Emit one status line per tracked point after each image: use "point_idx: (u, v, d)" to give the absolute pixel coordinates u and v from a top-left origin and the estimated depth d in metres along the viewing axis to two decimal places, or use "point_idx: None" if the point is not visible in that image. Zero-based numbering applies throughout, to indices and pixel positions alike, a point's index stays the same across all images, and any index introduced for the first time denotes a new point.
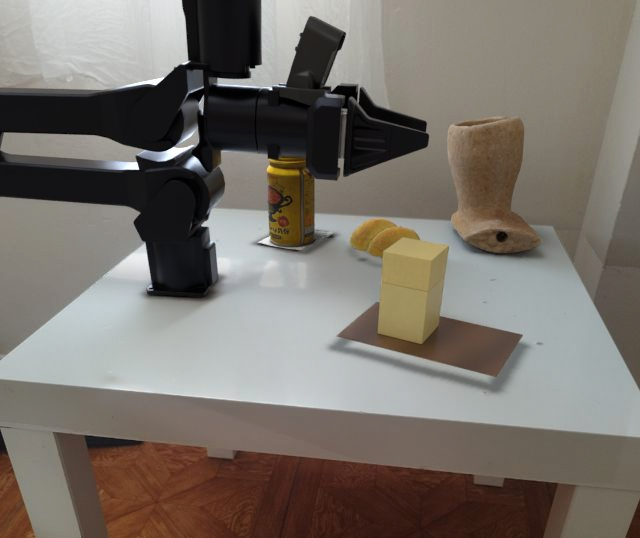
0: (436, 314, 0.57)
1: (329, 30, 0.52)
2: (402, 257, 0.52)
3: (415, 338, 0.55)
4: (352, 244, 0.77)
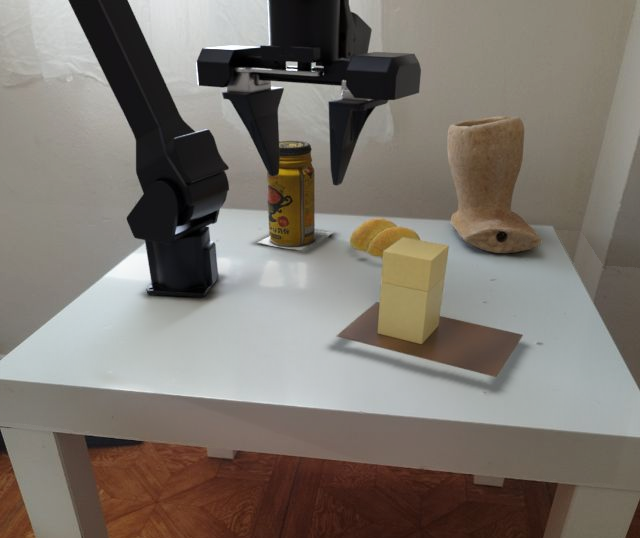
0: (436, 314, 0.57)
1: None
2: (402, 257, 0.52)
3: (415, 338, 0.55)
4: (352, 244, 0.77)
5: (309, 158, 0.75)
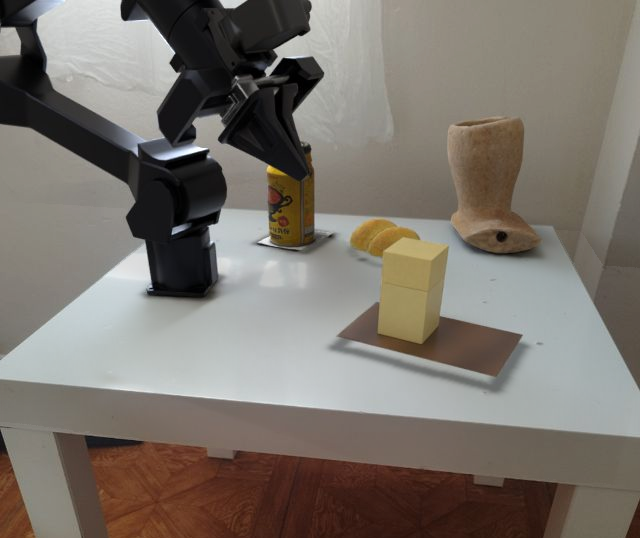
0: (436, 314, 0.57)
1: (278, 16, 0.47)
2: (402, 257, 0.52)
3: (415, 338, 0.55)
4: (352, 244, 0.77)
5: (309, 158, 0.75)
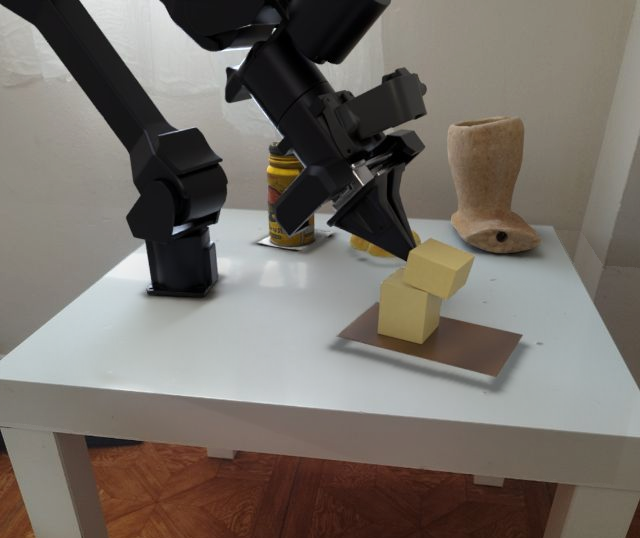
0: (436, 314, 0.57)
1: (401, 107, 0.46)
2: (428, 261, 0.51)
3: (415, 338, 0.55)
4: (352, 244, 0.77)
5: None
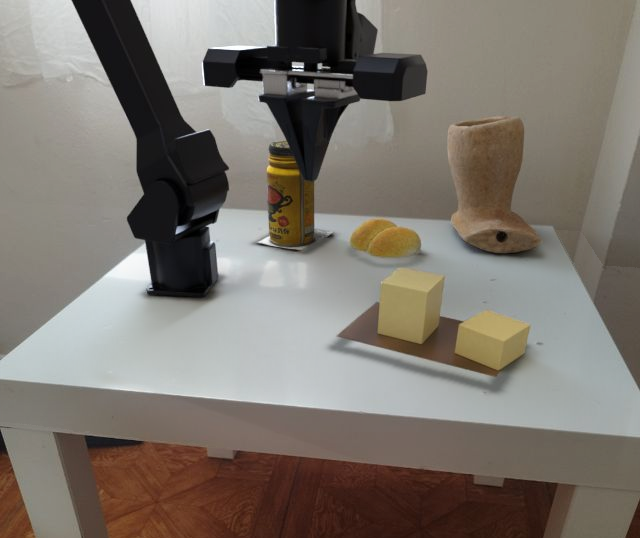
0: (436, 314, 0.57)
1: None
2: (479, 361, 0.52)
3: (415, 338, 0.55)
4: (352, 244, 0.77)
5: None
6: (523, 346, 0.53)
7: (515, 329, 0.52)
